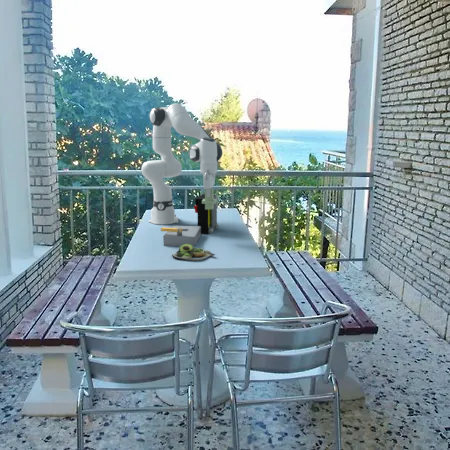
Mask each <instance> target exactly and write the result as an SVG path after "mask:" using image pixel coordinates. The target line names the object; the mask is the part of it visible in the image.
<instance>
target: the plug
mask: <svg viewBox="0 0 450 450" xmlns="http://www.w3.org/2000/svg"><path fill="white" fill-rule="evenodd" d="M204 194H205V199H203V200H202V204H205V209H213V208H214V204H215V203H216V202H217V203H218V200H217V199H213V195H214V187H212V188H211V189H210V197H207V192H206V189H204Z"/></svg>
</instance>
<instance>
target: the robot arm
mask: <svg viewBox="0 0 450 450" xmlns="http://www.w3.org/2000/svg"><path fill="white" fill-rule="evenodd" d="M149 122H150V123H151V124H152V126H153V127H152V150H153V151H154V152H155V153H156V154H157V155H159V156H160V158H161V159H157V160H155V159H154V160H148V161H145V162H143V163H142V165H141V174H142V176H143V178H146V179H147V181H149V182H150V184H151V187H152V191H153V202H152V204H153V205H152V206H153V207H152V208H151V210H150V219H149V220H148V223H151V224H153V225H172V224H179V216H177V214H175V213H176V212H175V207H174V202H173V198H172V197H173V196H172V194H173V193H172V187H171V185H169V184H167V183H165V181H164V178H165V179H166V178H175V177H178V176H180V175H181V173H182V170H183V167H182V166H183V165H182V163H181V162H180V161H179V160H178V159H177V158H176V157H175V156H174V153H173V150H172V128H173V129H174V131H175V132H176V133H178V135H181V136H186V137H187V136H188V137H190V138H195V139H197V140H199V141H198V142H197V143H195V144H192V145H191V146H190V147H189V149H188V157H189V158H190V160H191V161H192V162H194V163H200V165H199V166H200V170H199V172H200V174H202V177H203V178H202V179H203V180H202V181H203V182H202V183H203V185H202V187H203V190H205V189H206V192H207V197H210V189H211V188H214V186H215V182H216V174H217V173H218V162H219V161H220V160H221V158H222V157H223V148H222V147H221V145H220V144H219V143H217V141H216V139H215V138H213V137H212V136H211V135H210V134H209V132H208V131H206V129H205V128H204V127H203V126H202V125H201V124H199V123H197V122H196V121H195V120H194V119H193V118H192V116H190V114H189V112H188V111H187V110H186V108H185V107H184V106H183V105H182V104H181V103H171V105H169V106H167V107H166V106H163V107H159V106H157V107H153V108H152V109H151V110H150V112H149Z"/></svg>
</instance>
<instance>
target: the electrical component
mask: <svg viewBox="0 0 450 450" xmlns="http://www.w3.org/2000/svg"><path fill="white" fill-rule="evenodd" d="M203 199H205V193H202V194H201V195H200V196H197V197H196V198H195V205H194V206H193V207H194V213H195V214H197V226H201V235H210V234H212V233H214V230H215V229H216V228H218V227H219V223H218V206H217V205H218V200H219V197H218V196H217V195H216V194H213V199H217V202H216V203H215V204H214V208H213V209H205V204H202V200H203Z"/></svg>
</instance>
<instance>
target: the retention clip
mask: <svg viewBox="0 0 450 450" xmlns="http://www.w3.org/2000/svg"><path fill="white" fill-rule="evenodd" d="M182 231H183V229H182V228H171V227H163V226H162V227H161V228H160V232H165V233H166V232H177V235H178V236H181V235H182Z"/></svg>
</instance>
